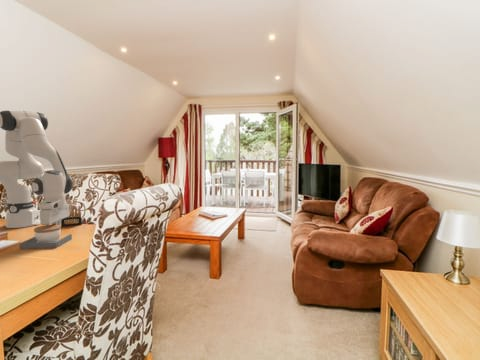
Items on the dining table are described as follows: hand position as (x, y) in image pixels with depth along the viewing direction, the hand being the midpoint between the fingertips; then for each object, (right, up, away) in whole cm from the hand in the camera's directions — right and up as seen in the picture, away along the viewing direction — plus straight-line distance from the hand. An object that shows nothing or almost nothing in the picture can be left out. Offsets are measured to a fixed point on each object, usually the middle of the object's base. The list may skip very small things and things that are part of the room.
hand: (56, 229), depth 142 cm
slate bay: (0, -5, -7) cm, 9 cm away
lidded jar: (+1, -6, -7) cm, 9 cm away
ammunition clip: (-9, -3, +27) cm, 28 cm away
